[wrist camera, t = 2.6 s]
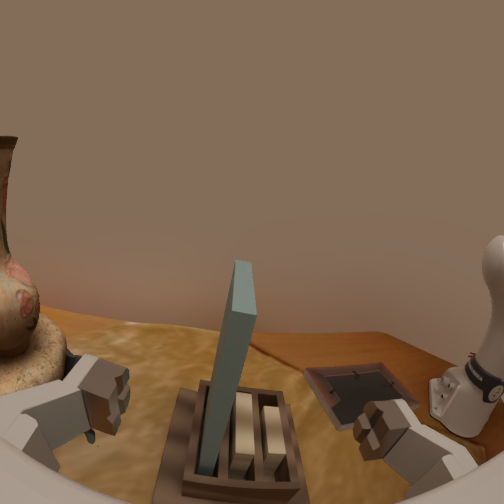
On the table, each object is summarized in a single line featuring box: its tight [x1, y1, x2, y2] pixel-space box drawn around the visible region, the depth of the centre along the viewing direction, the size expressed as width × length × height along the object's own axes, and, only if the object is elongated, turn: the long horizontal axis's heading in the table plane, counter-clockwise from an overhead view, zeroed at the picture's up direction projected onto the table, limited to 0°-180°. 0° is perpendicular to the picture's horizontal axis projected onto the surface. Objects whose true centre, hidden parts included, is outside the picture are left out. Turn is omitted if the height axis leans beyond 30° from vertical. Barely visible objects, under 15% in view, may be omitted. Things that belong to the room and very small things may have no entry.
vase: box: [0, 136, 98, 447], centre depth 22 cm, size 24×22×35 cm
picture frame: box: [303, 362, 421, 431], centre depth 46 cm, size 16×2×22 cm
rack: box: [152, 380, 310, 504], centre depth 28 cm, size 22×18×6 cm
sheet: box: [197, 259, 257, 477], centre depth 25 cm, size 12×2×24 cm, turn 2°
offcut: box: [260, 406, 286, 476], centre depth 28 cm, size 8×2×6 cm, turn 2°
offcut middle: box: [228, 392, 255, 480], centre depth 28 cm, size 10×2×7 cm, turn 2°
